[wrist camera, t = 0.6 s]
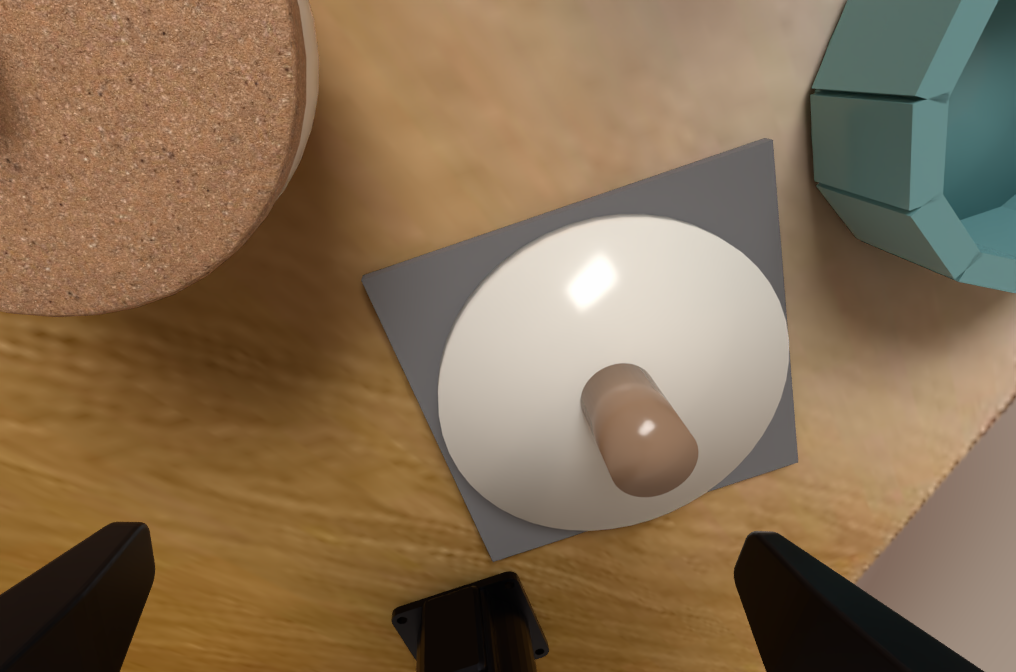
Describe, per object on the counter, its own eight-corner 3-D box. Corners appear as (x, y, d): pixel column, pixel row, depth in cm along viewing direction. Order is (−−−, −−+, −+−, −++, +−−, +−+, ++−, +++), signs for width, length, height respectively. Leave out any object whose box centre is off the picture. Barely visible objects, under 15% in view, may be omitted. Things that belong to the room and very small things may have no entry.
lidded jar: (379, 205, 19) (340, 319, 11) (49, 241, 18) (-274, 394, 10) (304, -213, 14) (125, -603, 6) (-150, -191, 13) (-1108, -605, 5)
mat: (792, 455, 26) (798, 462, 26) (491, 553, 27) (492, 562, 26) (764, 138, 20) (772, 139, 19) (362, 275, 20) (361, 280, 20)
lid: (786, 457, 26) (860, 539, 21) (499, 551, 26) (514, 651, 22) (759, 158, 19) (857, 187, 15) (380, 288, 20) (366, 353, 15)
